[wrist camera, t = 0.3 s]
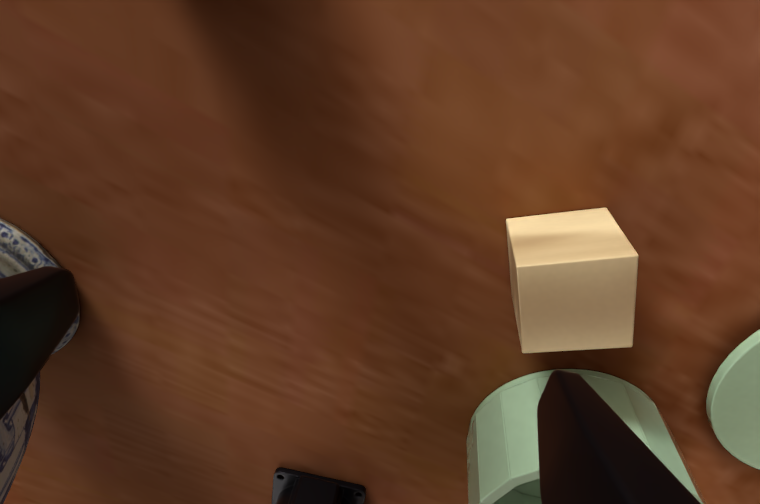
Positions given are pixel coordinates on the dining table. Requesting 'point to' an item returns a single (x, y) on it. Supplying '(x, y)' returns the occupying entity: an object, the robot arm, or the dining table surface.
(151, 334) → the dining table surface
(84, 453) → the dining table surface
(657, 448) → the pot
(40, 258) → the decorative vase
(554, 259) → the block
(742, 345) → the lid
